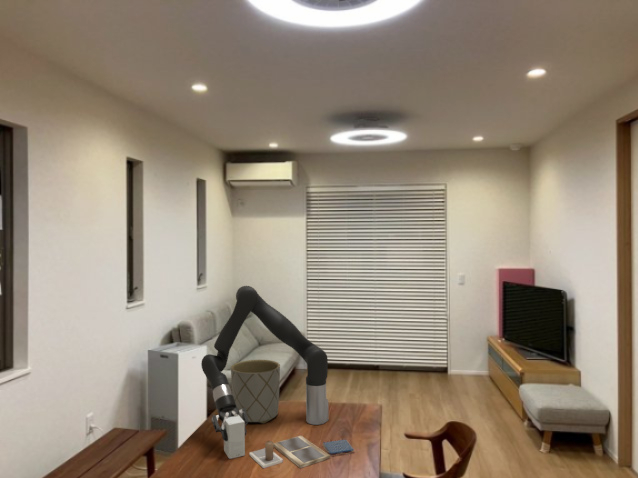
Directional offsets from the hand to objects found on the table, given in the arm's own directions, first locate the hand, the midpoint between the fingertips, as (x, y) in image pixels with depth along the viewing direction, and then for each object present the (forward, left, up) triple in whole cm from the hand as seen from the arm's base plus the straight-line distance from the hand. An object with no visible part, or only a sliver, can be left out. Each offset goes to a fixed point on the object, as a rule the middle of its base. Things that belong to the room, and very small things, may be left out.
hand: (235, 437), depth 177 cm
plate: (-8, +9, -6) cm, 14 cm away
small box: (0, -2, -7) cm, 7 cm away
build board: (-22, +12, -7) cm, 26 cm away
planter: (-23, -31, -7) cm, 39 cm away
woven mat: (-35, +18, -7) cm, 40 cm away
